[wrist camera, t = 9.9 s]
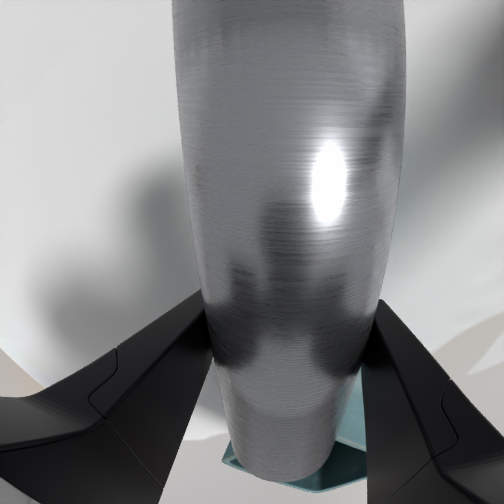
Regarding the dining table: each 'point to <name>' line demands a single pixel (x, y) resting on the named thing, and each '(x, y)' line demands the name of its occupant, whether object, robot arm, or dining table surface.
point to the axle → (290, 205)
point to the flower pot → (333, 452)
